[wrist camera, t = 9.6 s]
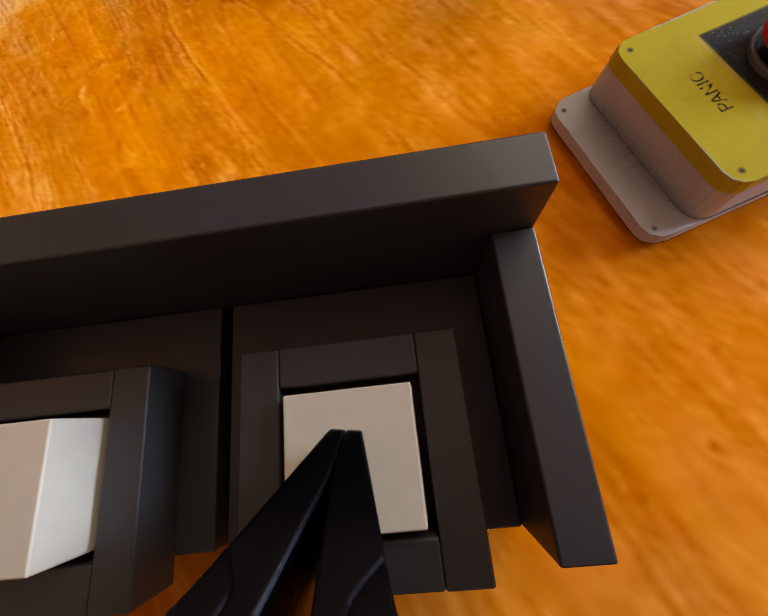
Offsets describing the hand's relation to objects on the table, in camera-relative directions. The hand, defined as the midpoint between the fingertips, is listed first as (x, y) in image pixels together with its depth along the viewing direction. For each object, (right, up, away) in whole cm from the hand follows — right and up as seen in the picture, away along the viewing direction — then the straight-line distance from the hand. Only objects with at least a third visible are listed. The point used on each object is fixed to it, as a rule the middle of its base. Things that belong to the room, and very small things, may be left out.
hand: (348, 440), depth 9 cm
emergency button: (+19, +13, +10) cm, 25 cm away
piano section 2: (-9, -2, +8) cm, 12 cm away
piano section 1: (+1, -1, +7) cm, 8 cm away
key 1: (0, -1, +2) cm, 2 cm away
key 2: (-9, -2, +2) cm, 10 cm away
